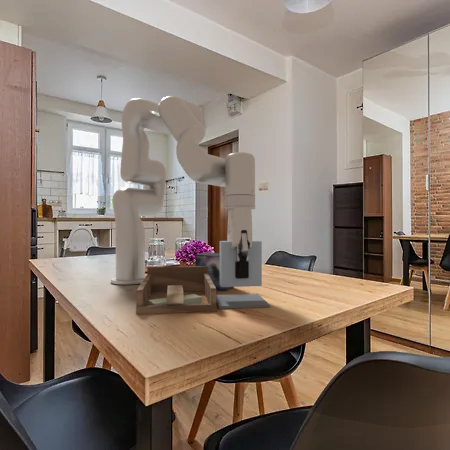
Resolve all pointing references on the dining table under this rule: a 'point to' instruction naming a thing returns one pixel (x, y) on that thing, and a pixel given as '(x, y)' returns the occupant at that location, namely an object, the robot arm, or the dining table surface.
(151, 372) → the dining table surface
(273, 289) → the dining table surface
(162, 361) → the dining table surface
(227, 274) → the block
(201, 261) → the small box
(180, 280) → the brown wooden tray
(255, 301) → the pad
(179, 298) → the offcut upper
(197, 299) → the offcut lower
